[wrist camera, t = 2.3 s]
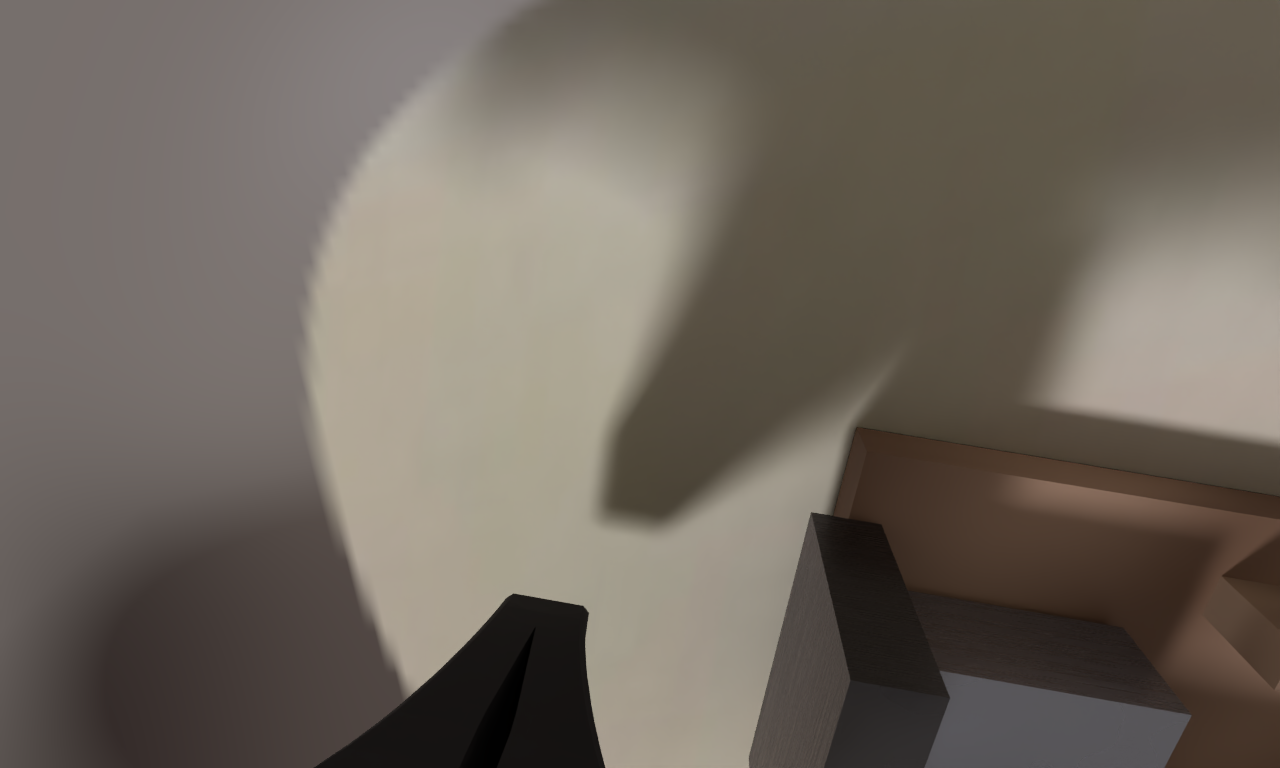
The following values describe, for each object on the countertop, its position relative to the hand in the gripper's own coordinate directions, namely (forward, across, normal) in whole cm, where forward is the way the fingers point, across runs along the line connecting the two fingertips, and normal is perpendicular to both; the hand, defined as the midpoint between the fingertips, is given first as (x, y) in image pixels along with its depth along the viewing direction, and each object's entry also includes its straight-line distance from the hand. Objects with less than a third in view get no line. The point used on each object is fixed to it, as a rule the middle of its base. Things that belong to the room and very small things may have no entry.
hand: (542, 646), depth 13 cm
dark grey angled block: (+1, -7, 0) cm, 7 cm away
